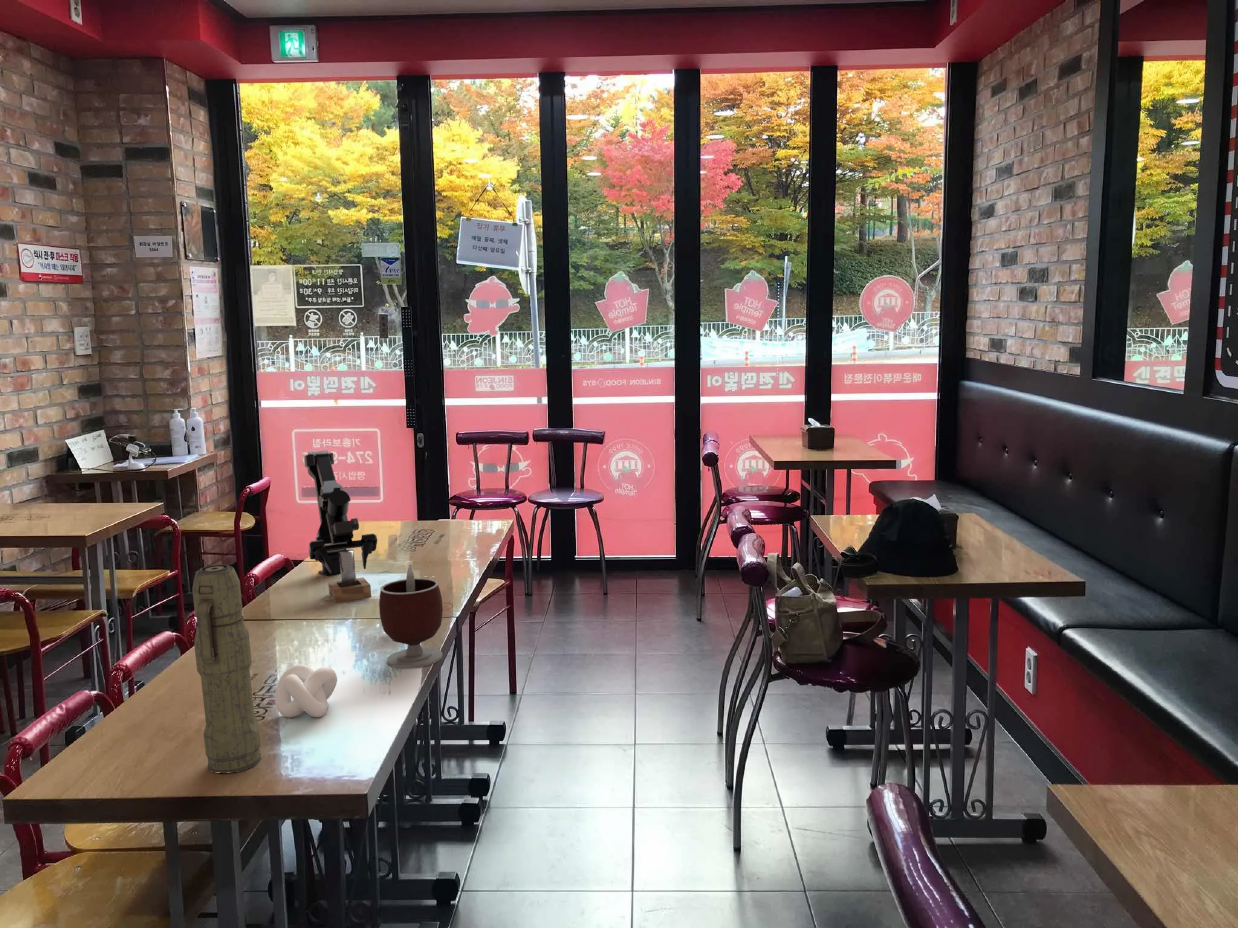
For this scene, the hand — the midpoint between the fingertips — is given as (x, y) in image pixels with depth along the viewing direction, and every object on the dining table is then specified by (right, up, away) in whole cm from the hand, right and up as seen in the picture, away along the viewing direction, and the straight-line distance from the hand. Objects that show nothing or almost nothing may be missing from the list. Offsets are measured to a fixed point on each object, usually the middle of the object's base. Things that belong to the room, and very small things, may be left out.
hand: (348, 570), depth 275 cm
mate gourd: (+30, -14, -54) cm, 63 cm away
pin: (0, -7, +2) cm, 8 cm away
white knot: (+16, -19, -84) cm, 88 cm away
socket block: (0, -7, +2) cm, 8 cm away
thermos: (+9, -22, -105) cm, 108 cm away
